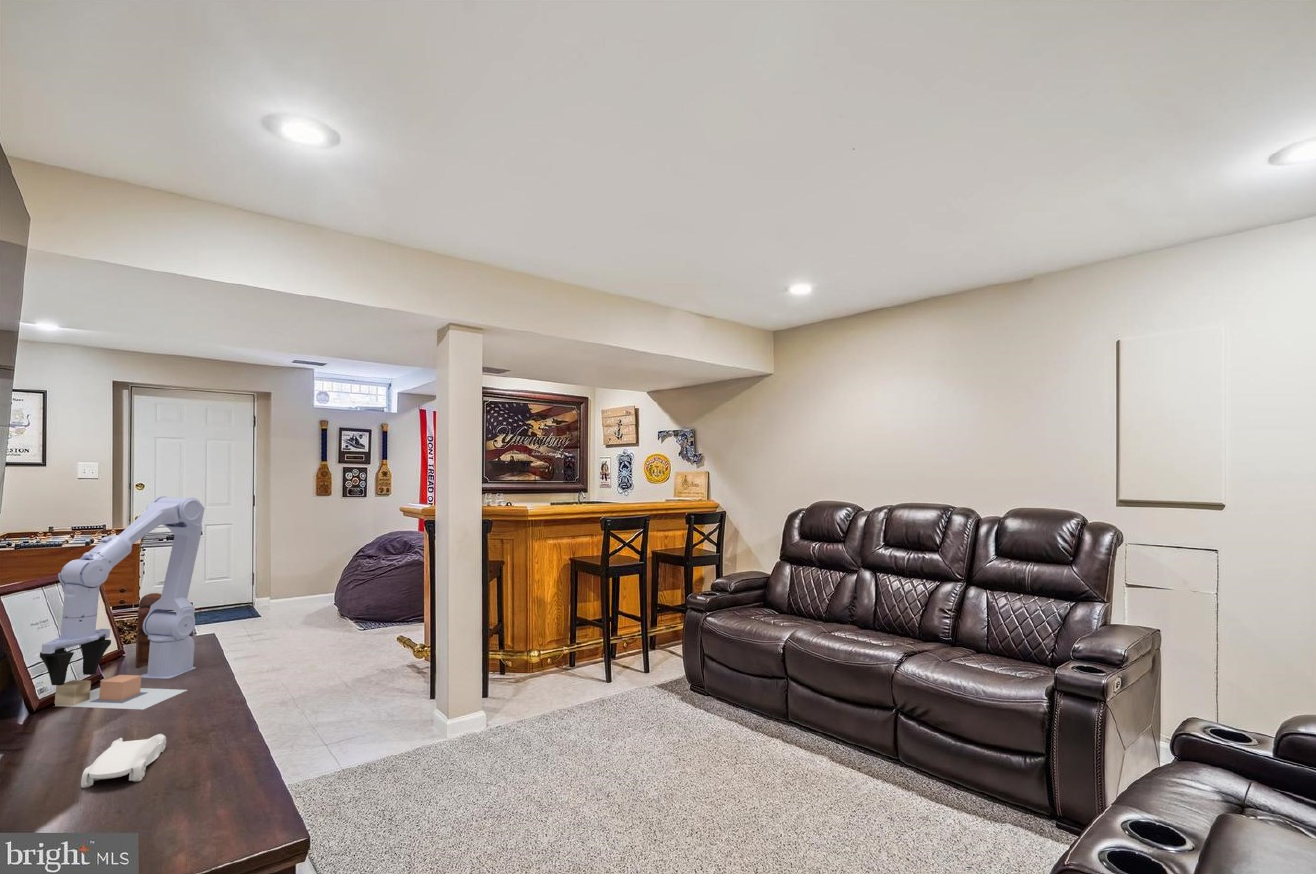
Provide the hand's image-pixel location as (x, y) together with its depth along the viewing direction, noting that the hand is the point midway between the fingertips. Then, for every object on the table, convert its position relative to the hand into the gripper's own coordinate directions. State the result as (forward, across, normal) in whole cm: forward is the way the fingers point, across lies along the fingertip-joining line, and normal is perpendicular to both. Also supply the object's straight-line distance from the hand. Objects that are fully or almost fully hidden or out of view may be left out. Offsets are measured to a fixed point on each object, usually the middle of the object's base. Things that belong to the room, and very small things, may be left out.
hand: (73, 679), depth 143 cm
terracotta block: (+5, +4, -7) cm, 9 cm away
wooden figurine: (+5, +32, +8) cm, 34 cm away
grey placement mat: (+5, +4, -8) cm, 10 cm away
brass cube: (+5, 0, 0) cm, 5 cm away
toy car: (+6, -28, -35) cm, 45 cm away
